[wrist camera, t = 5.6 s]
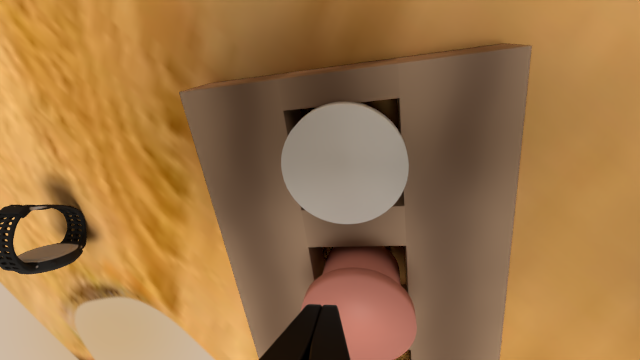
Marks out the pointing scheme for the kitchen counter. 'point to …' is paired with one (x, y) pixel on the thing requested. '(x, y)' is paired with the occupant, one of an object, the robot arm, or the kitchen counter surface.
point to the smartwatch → (45, 255)
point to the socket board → (404, 216)
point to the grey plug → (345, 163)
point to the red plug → (367, 301)
